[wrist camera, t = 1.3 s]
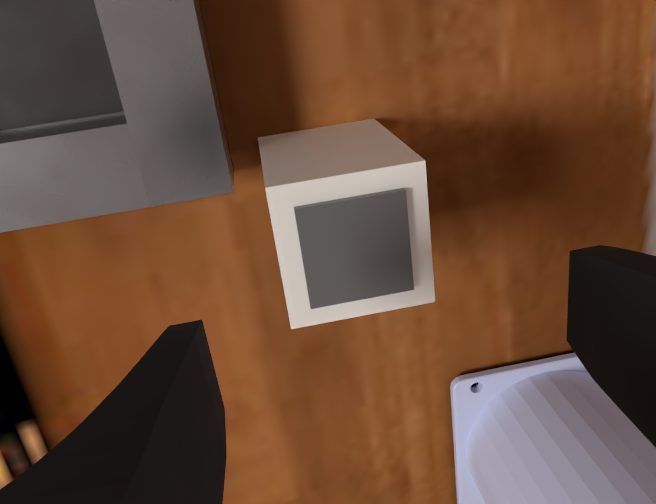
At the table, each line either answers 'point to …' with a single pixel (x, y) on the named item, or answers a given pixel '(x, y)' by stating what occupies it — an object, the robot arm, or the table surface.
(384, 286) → the plug
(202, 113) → the socket
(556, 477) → the robot arm
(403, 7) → the table surface
